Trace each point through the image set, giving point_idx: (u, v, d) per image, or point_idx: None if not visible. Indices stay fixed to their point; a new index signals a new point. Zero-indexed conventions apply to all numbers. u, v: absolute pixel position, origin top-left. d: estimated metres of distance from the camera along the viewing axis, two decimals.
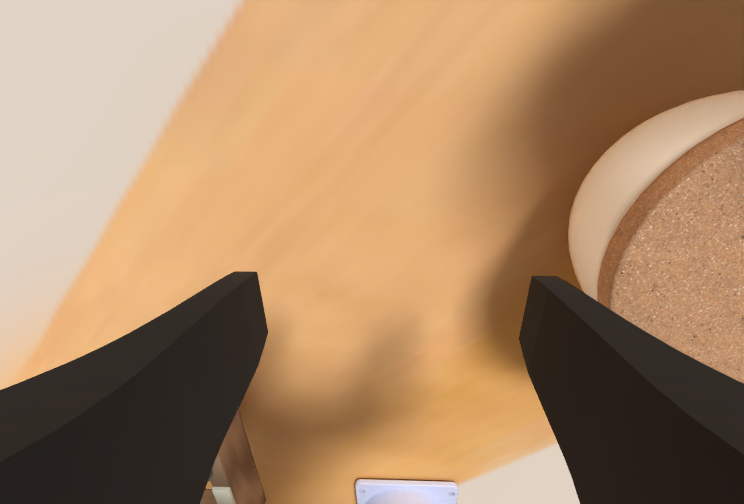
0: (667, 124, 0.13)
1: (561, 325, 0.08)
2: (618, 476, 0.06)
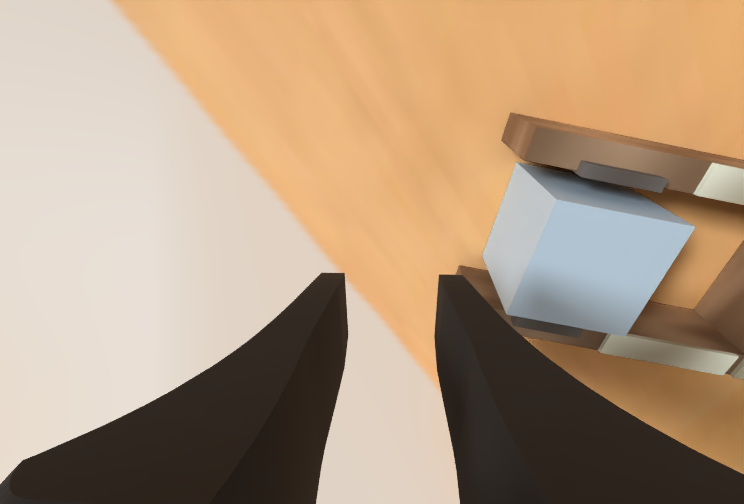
0: None
1: (450, 323, 0.08)
2: (473, 469, 0.06)
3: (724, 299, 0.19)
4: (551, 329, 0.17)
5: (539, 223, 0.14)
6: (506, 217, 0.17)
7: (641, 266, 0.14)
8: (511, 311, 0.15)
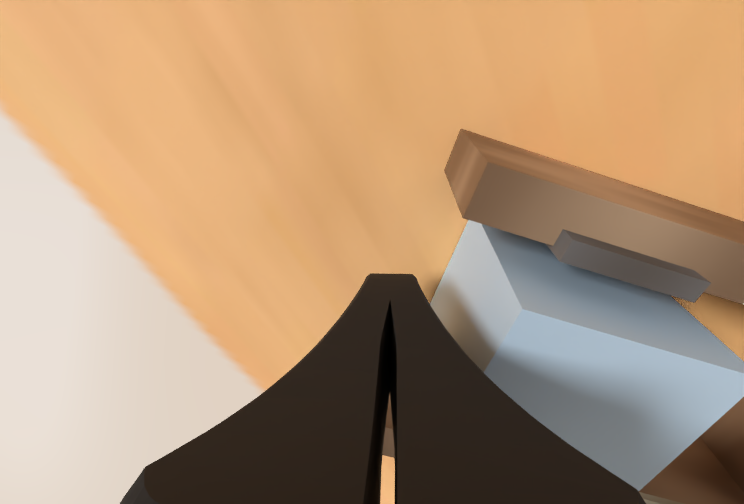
0: None
1: (390, 321, 0.08)
2: (395, 466, 0.06)
3: (740, 427, 0.13)
4: None
5: (490, 337, 0.08)
6: (449, 292, 0.11)
7: (656, 426, 0.08)
8: None
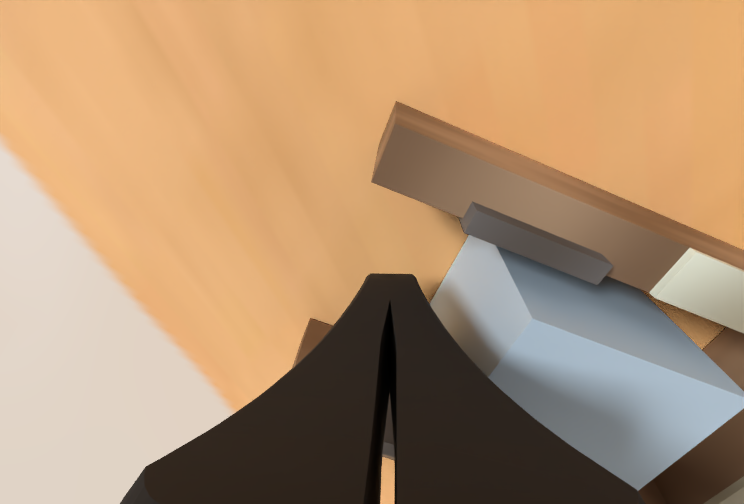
0: None
1: (390, 321, 0.08)
2: None
3: None
4: None
5: (495, 343, 0.08)
6: (450, 296, 0.11)
7: (647, 440, 0.08)
8: None
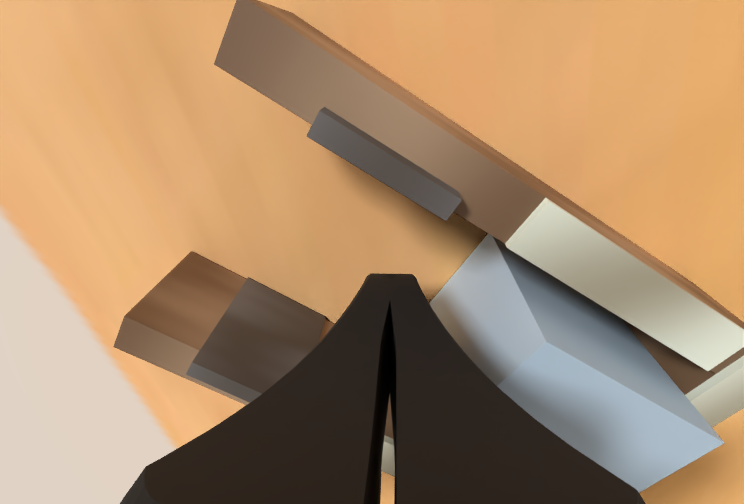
0: None
1: (390, 321, 0.08)
2: None
3: None
4: (249, 396, 0.10)
5: (501, 360, 0.08)
6: (449, 306, 0.12)
7: (622, 468, 0.09)
8: None
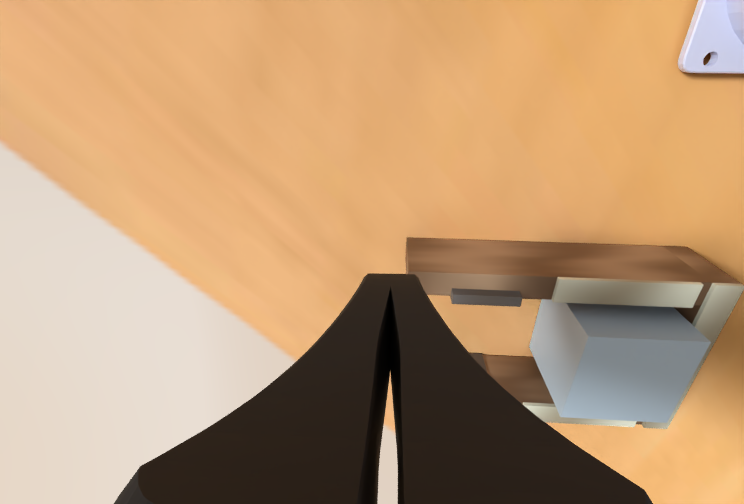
0: None
1: (393, 321, 0.08)
2: None
3: None
4: None
5: (577, 349, 0.17)
6: (546, 323, 0.21)
7: (670, 373, 0.17)
8: (564, 414, 0.18)
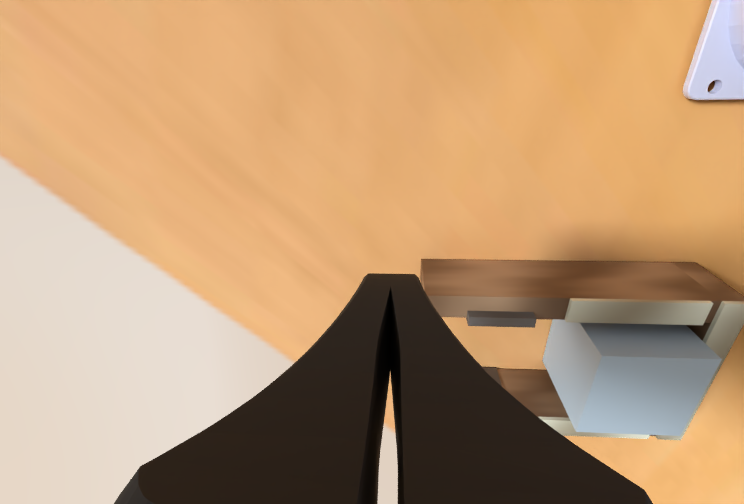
0: None
1: (393, 321, 0.08)
2: None
3: None
4: None
5: (590, 367, 0.18)
6: (558, 339, 0.21)
7: (682, 389, 0.17)
8: (579, 429, 0.19)
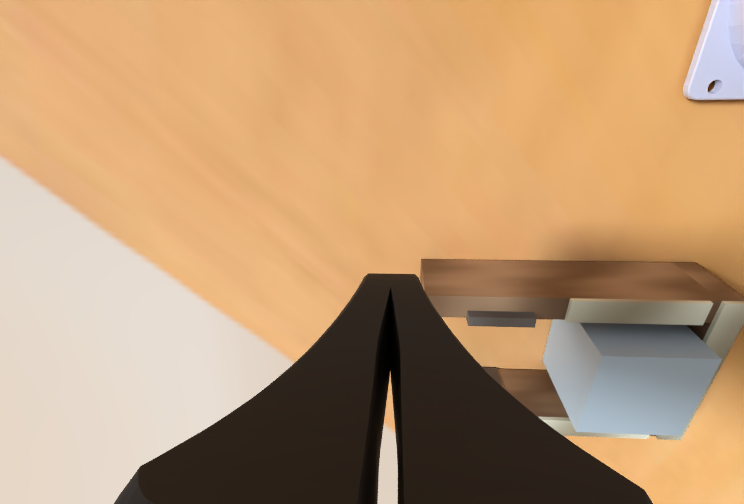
0: None
1: (393, 321, 0.08)
2: None
3: None
4: None
5: (590, 367, 0.18)
6: (558, 339, 0.21)
7: (682, 389, 0.17)
8: (579, 429, 0.19)
